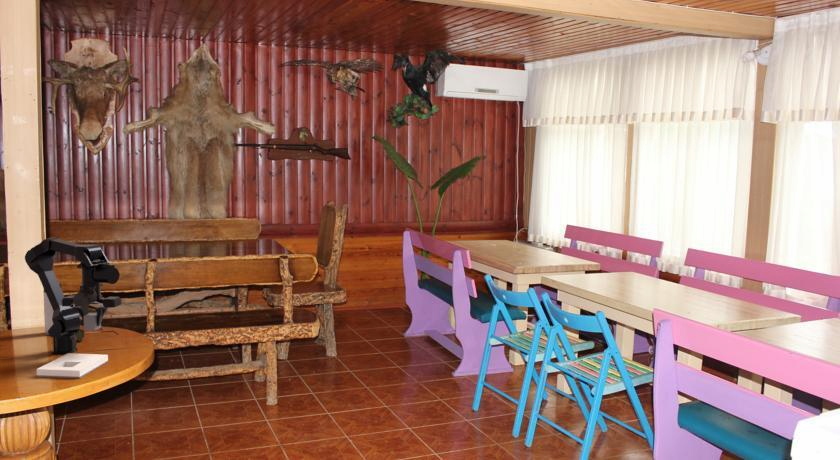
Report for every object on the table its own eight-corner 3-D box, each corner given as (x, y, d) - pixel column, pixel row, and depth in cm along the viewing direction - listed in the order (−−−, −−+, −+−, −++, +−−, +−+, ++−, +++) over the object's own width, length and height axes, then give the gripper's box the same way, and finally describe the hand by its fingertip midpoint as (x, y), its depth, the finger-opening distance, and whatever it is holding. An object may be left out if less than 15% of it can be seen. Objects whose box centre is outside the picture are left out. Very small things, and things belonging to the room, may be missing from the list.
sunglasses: (64, 337, 274) (65, 324, 273) (101, 333, 285) (102, 320, 285) (83, 343, 265) (84, 330, 265) (120, 339, 277) (121, 326, 277)
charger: (83, 329, 244) (83, 315, 244) (89, 327, 248) (89, 313, 248) (95, 330, 244) (94, 316, 244) (101, 327, 248) (100, 313, 248)
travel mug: (48, 331, 280) (46, 281, 278) (65, 331, 281) (64, 281, 279) (41, 335, 274) (39, 284, 272) (59, 335, 275) (57, 284, 272)
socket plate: (36, 376, 224) (36, 369, 224) (68, 360, 242) (67, 353, 242) (79, 378, 224) (79, 370, 223) (107, 361, 242) (107, 354, 241)
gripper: (51, 285, 237) (53, 330, 239) (106, 286, 236) (107, 332, 238) (69, 279, 248) (71, 322, 250) (121, 280, 247) (122, 324, 249)
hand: (92, 325), depth 246 cm, fingers closed on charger, 4 cm apart
